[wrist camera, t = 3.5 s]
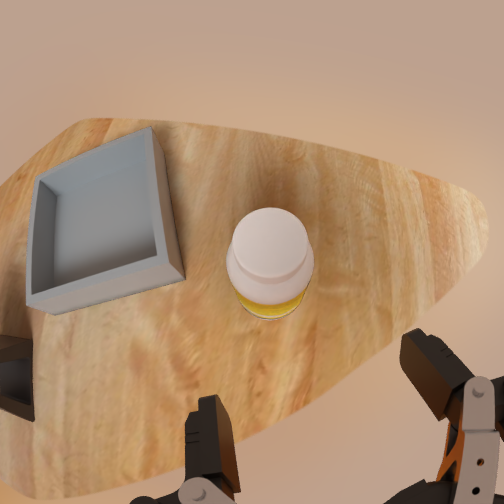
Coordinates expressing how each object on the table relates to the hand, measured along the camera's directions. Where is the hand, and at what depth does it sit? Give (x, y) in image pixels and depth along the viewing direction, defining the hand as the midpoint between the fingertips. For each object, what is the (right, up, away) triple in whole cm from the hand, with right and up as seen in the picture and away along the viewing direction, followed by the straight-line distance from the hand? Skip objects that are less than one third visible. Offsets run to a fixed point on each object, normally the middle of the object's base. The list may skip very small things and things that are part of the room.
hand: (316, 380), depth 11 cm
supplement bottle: (-1, +2, +14) cm, 14 cm away
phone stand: (-28, -8, +11) cm, 31 cm away
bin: (-17, +7, +16) cm, 25 cm away
